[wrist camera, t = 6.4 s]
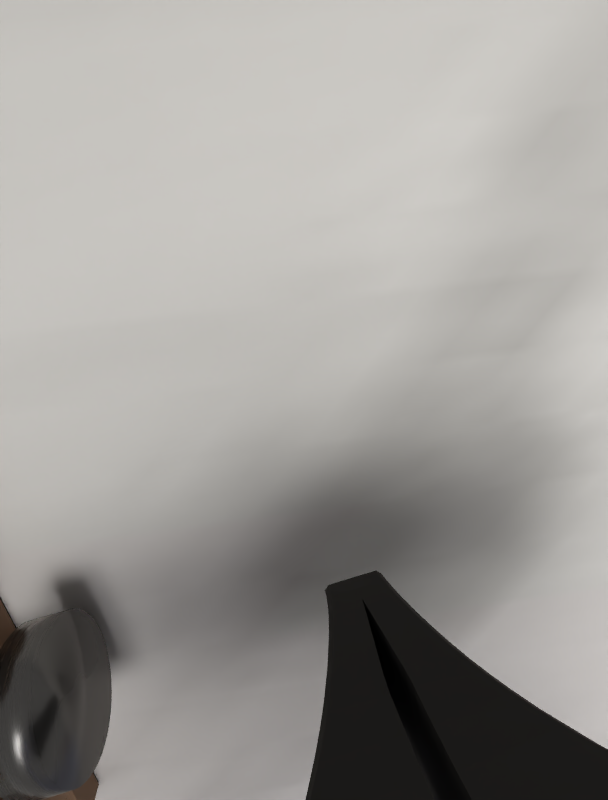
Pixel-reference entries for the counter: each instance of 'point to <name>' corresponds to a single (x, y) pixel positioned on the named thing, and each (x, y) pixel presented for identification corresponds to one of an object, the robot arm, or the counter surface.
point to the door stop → (52, 705)
